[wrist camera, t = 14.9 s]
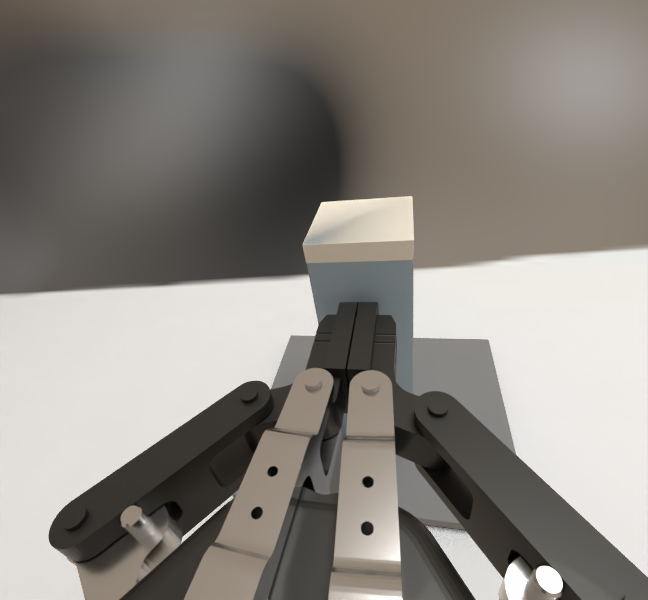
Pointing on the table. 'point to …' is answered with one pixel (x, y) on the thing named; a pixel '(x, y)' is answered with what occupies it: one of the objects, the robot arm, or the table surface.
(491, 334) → the table surface
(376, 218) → the blue block
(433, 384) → the mat
